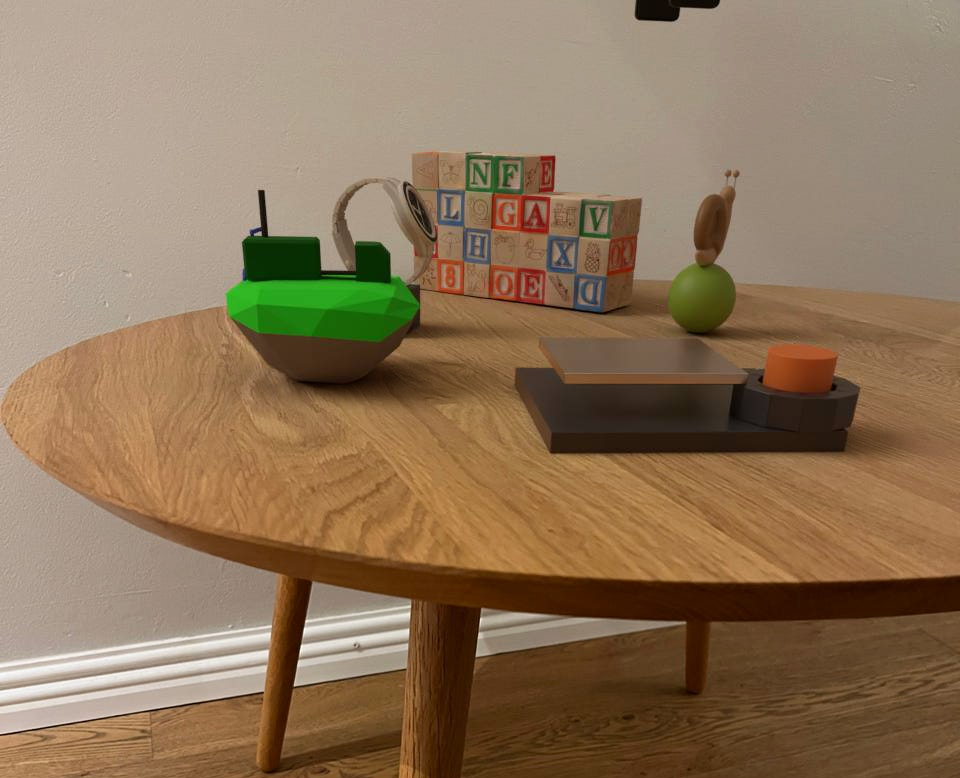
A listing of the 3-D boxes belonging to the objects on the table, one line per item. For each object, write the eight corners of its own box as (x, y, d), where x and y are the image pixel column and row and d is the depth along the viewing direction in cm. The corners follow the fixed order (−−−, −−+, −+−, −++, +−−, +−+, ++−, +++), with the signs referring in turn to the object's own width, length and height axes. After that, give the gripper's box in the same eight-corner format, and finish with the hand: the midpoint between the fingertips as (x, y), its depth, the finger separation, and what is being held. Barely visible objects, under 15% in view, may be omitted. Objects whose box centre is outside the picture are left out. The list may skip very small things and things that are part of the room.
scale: (769, 386, 62) (778, 340, 60) (868, 454, 50) (881, 398, 48) (514, 386, 60) (516, 338, 59) (550, 456, 48) (554, 398, 46)
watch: (426, 339, 72) (426, 181, 66) (328, 332, 73) (320, 177, 68) (443, 325, 77) (444, 177, 71) (350, 319, 78) (344, 173, 73)
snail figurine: (741, 329, 79) (767, 171, 73) (718, 341, 74) (743, 173, 68) (681, 321, 81) (701, 167, 75) (654, 333, 76) (673, 170, 70)
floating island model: (222, 401, 55) (198, 197, 50) (247, 356, 65) (231, 183, 60) (423, 402, 56) (422, 202, 51) (418, 358, 66) (417, 187, 61)
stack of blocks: (633, 305, 87) (648, 158, 81) (603, 315, 83) (616, 160, 77) (447, 281, 97) (448, 148, 91) (411, 288, 93) (410, 149, 87)
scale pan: (696, 348, 58) (698, 338, 57) (747, 384, 50) (749, 373, 50) (538, 347, 57) (538, 337, 56) (564, 384, 49) (565, 373, 49)
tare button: (813, 381, 53) (821, 344, 52) (841, 398, 49) (850, 359, 48) (752, 381, 52) (758, 343, 51) (776, 398, 49) (783, 358, 48)
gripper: (833, -400, 47) (771, 4, 56) (729, -277, 62) (692, 27, 71) (690, -412, 47) (649, -2, 55) (619, -285, 62) (595, 23, 70)
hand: (673, 14), depth 63 cm, fingers open, 9 cm apart
